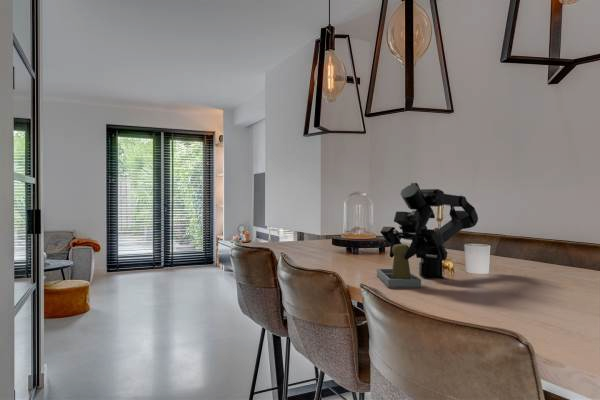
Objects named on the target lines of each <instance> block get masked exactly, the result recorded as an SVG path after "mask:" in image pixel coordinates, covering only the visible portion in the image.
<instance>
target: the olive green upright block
mask: <svg viewBox="0 0 600 400" xmlns="http://www.w3.org/2000/svg"><path fill="white" fill-rule="evenodd" d="M409 247H410V246H409V245H407V244H405V243H401V244H396V245H394V246H393V248H392V252H393V254H394V256H393V262H392V268H391V269H392V277H391V279H411V275H410V272H411V271H410V270H411V269H410V268H411V267H410V263H409V259H407V260H406V259H405V255H406V253H407V251H408V249H409Z"/></svg>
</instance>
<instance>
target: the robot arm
mask: <svg viewBox="0 0 600 400" xmlns="http://www.w3.org/2000/svg"><path fill="white" fill-rule="evenodd" d="M400 196H401V198H402V199H403V201H404V204H406V206H407V208H408V209H410V210H412V211H411V212H410V211H396V212H395V215H394V219H393V222H394V223H396V224H398V227H399V229H400V230H401V231H400V230H398V229H396V228H395V227H394V226H383V227H382V228H381V230H380V234H381V236H383V238H384V239H385V242H387V243H388V244H390V249H389V250H390V251H389V258H394V254H393V252H392V248H393V246H394V245H396V244H402V242H401V240H402V239H404V240H406V241H407V240H409V241H411V242H410V245H409V246H408V247H409V249H408V251H407V253H406V255H405V259H406V260H407V259H408V260H409V259H411V258H412V257H413V256H415V257H416V259H420V262H418V271H419V273H418V274H419V276H420V277H422V278H423V279H426V280H427V279H445V276H444V275H443V261H446V260H447V258H448V252H447V249H446V248H445V247H444V244H445V243H446V242H448V241H449V240H450V239H452V238H453V237H454V236H456V235H457V234H458V233H460V231H462V230H465V229H470V228H474V227H476V225H477V223H478V221H479V216H478V213H477V211H476V209H475V207H474V206H473V205H472V204H471V203H469V201H468V199H467V198H466V196H464V195H456V194H454V195H453V194H450V193H445V192H444V191H443V190H441V189H439V188H425V189H424V188H423V189H421V188H420V185H419V184H418V182H411V183H410V185H407V186H405V187H404V188H403V189H401V191H400ZM442 206H449V207H450V211H449V216H450V220H449V221H448V222H446V223H445V224H444V225H442V226H440V228H438V229H436V230H435V229H431V228H430V229H429V228H428V226H427V224H428V222H429V219H435V218H436V215H435V213H434V210H433V208H432V207H442ZM455 207H457V208H459V207H460V208H461V209H463V210H456V209H455Z"/></svg>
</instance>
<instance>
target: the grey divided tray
mask: <svg viewBox="0 0 600 400" xmlns="http://www.w3.org/2000/svg"><path fill="white" fill-rule="evenodd" d="M392 269H393V268H376V277H377V279H379V280H380V282H382V284H384V285H385V286H386V287H387V288H388V289H421V288H422V279H421V278H419V277H418V276H417V275H415V274H414V273H412V272H411V271H410V275H411V279H391V277H392Z"/></svg>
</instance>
